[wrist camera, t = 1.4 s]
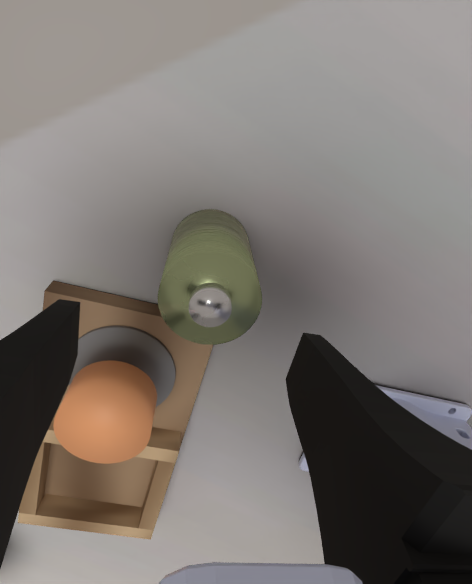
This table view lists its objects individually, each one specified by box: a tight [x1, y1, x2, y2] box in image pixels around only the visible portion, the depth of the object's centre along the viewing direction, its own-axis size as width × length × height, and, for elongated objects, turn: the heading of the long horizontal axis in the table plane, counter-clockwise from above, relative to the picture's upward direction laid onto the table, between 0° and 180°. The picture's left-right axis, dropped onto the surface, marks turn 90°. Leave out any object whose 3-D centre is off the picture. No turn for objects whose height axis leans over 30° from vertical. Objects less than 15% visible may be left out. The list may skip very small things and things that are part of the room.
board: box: [18, 281, 213, 539], centre depth 24 cm, size 9×18×3 cm, turn 164°
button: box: [53, 360, 157, 464], centre depth 20 cm, size 4×4×2 cm
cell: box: [158, 209, 262, 345], centre depth 18 cm, size 4×4×7 cm
